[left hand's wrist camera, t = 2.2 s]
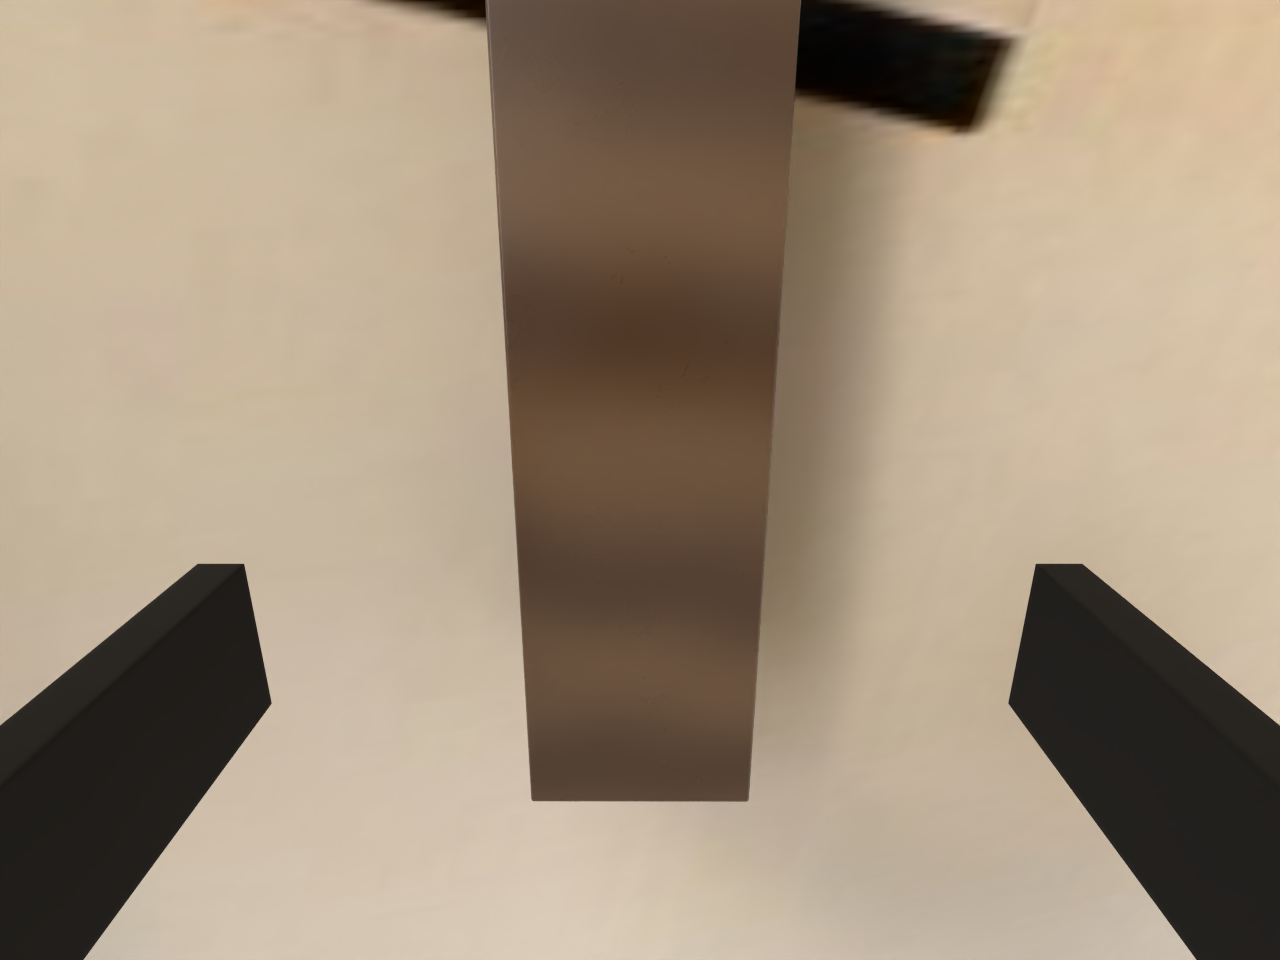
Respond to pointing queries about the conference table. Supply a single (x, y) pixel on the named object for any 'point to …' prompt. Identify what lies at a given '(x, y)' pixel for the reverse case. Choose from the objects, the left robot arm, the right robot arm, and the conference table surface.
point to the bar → (641, 375)
